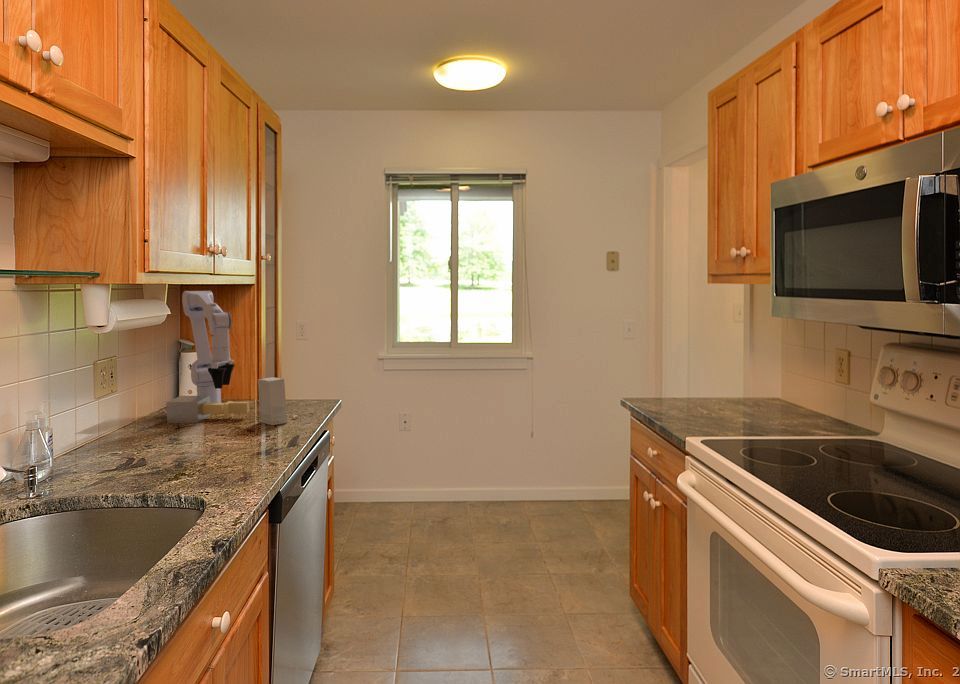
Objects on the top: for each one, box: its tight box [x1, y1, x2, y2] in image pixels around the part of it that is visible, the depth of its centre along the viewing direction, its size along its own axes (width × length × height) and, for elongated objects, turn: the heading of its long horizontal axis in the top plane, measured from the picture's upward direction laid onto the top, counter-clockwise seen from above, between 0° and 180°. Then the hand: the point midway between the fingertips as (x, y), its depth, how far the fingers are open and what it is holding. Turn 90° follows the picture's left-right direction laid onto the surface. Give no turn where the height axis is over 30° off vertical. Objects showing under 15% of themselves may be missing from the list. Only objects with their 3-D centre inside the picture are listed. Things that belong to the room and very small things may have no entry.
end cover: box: [202, 400, 251, 420], centre depth 224 cm, size 6×15×5 cm, turn 93°
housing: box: [166, 395, 212, 424], centre depth 223 cm, size 12×10×7 cm
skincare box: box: [257, 377, 288, 426], centre depth 217 cm, size 8×6×15 cm
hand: (222, 386), depth 227 cm, fingers open, 7 cm apart
